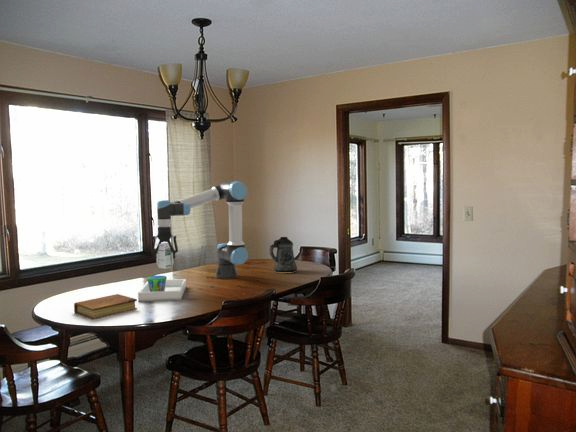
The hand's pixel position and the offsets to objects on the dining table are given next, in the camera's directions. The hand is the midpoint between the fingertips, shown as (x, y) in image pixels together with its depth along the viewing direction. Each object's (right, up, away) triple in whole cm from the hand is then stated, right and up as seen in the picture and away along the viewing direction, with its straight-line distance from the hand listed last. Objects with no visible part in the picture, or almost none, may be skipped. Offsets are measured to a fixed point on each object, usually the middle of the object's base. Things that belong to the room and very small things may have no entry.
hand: (165, 264), depth 273 cm
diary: (-18, -19, -44) cm, 51 cm away
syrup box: (0, -2, 0) cm, 2 cm away
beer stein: (+70, -12, +55) cm, 90 cm away
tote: (+1, -16, -9) cm, 18 cm away
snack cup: (0, -16, -15) cm, 22 cm away
